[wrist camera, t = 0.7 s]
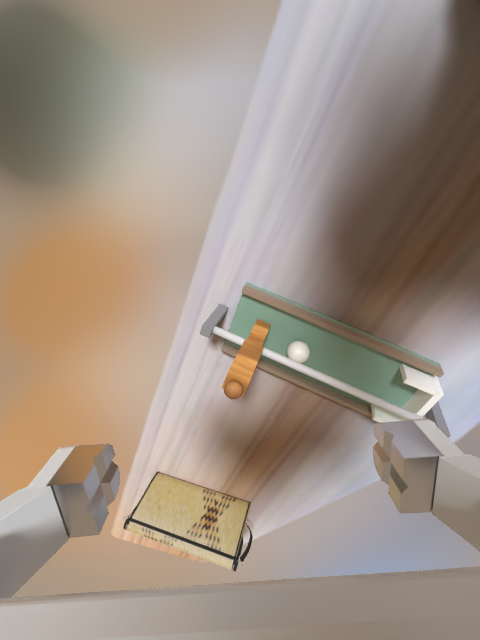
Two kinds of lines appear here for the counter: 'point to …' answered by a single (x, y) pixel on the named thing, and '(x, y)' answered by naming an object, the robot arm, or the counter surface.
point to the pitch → (335, 359)
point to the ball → (298, 351)
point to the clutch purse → (192, 520)
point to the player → (245, 361)
